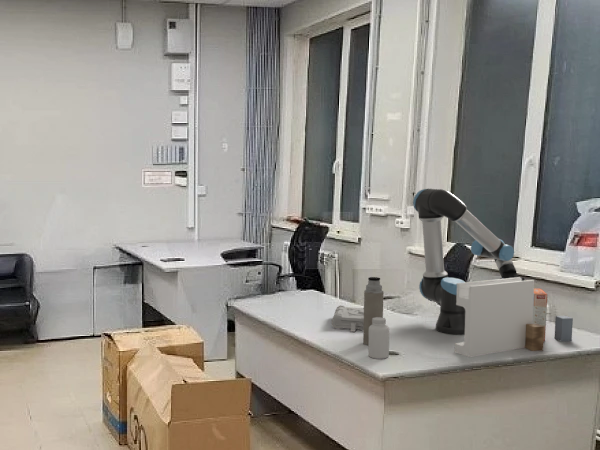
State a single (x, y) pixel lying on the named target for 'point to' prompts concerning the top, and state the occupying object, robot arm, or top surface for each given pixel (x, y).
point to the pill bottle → (378, 339)
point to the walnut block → (534, 337)
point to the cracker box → (540, 308)
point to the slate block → (563, 328)
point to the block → (495, 315)
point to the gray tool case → (348, 318)
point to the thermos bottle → (372, 305)
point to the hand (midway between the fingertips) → (523, 308)
